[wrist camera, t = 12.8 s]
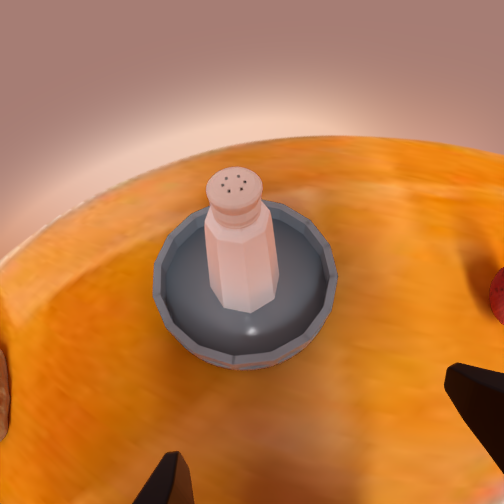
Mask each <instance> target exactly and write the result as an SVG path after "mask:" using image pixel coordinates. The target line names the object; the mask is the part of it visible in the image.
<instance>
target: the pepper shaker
mask: <svg viewBox="0 0 504 504" xmlns="http://www.w3.org/2000/svg"><path fill="white" fill-rule="evenodd" d="M262 190H263V186H262V181H261V179H260V177H259V176H258V175H257V174H256V173H254V172H253V171H251V170H249V169H246V168H243V167H229V168H225V169H223V170H220V171H218V172H217V173H216V174H214V175H213V176H212V177H211V178H210V180H209V181H208V183H207V186H206V194H207V197H208V200H209V201H210V208H209V211H208V213H207V216H206V219H205V240H206V250H207V260H208V270H209V280H210V287H211V289H212V290H213V292H214V293H215V295H216V296H217V298H218V300H219V301H220V303H221V304H222V306H223V307H224V308H227V309H232V310H237V311H242V312H247V313H252V312H254V311H256V310H257V309H259V308H261V307H262V306H264V305H265V304H267V303H269V302H270V301H272V300H274V298H275V294H276V289H277V284H278V279H279V268H278V261H277V253H276V246H275V238H274V231H273V224H272V217H271V213H270V210H269V209H268V208H267V207H266V205H265V204H264V203H263V202H262V201H261V194H262Z"/></svg>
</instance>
